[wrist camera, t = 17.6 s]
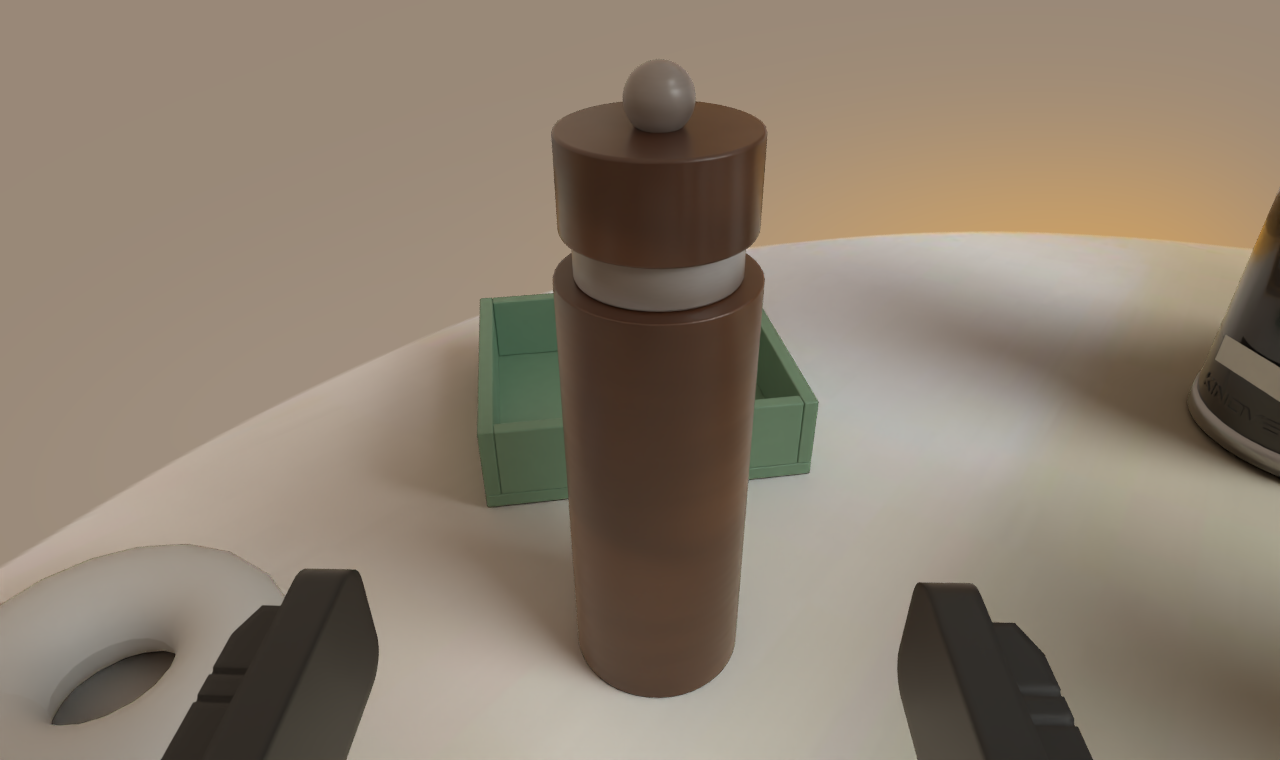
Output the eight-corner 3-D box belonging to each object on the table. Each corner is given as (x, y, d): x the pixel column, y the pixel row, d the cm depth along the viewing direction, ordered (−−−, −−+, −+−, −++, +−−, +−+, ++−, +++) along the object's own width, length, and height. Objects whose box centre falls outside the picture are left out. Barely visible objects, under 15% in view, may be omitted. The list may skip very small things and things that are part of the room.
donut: (375, 704, 25) (216, 550, 31) (355, 629, 23) (188, 478, 29) (2, 998, 19) (-117, 737, 24) (-69, 928, 17) (-181, 661, 22)
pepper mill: (715, 564, 30) (746, 33, 20) (753, 686, 25) (816, 83, 16) (571, 581, 29) (531, 41, 19) (586, 709, 25) (543, 95, 15)
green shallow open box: (741, 340, 43) (745, 278, 41) (809, 473, 34) (819, 401, 32) (487, 361, 42) (479, 298, 40) (487, 508, 32) (476, 434, 31)
